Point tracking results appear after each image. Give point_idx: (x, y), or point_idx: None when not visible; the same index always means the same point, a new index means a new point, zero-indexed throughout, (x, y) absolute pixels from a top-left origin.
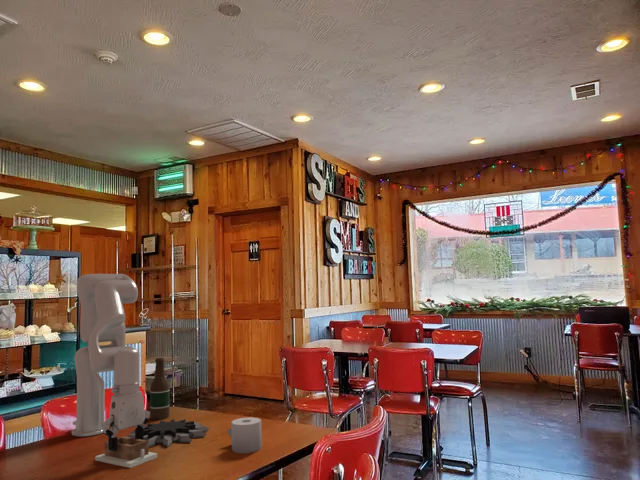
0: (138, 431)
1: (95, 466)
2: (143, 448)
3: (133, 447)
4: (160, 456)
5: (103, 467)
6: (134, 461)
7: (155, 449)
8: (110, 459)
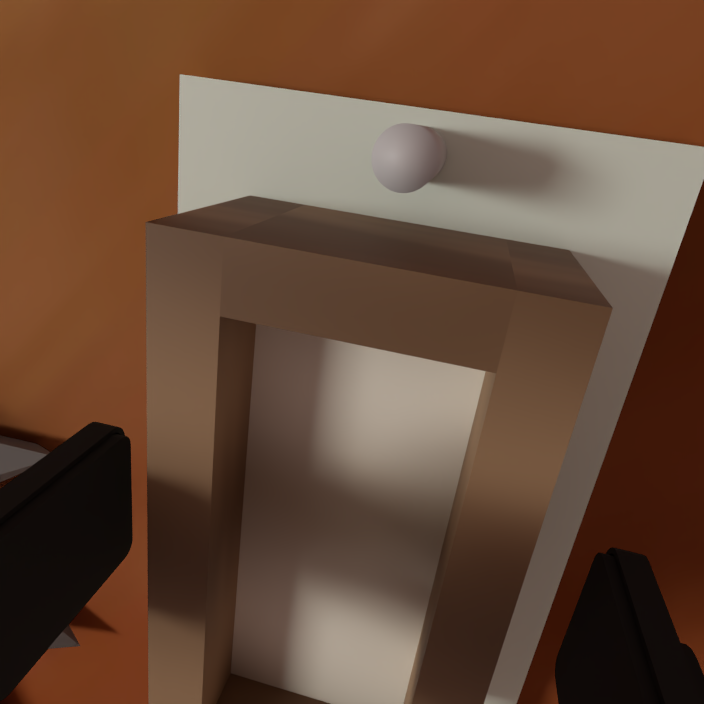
0: (21, 600)
1: (676, 620)
2: (307, 224)
3: (535, 286)
4: (157, 70)
5: (701, 521)
6: (596, 162)
7: (16, 330)
8: (567, 553)
